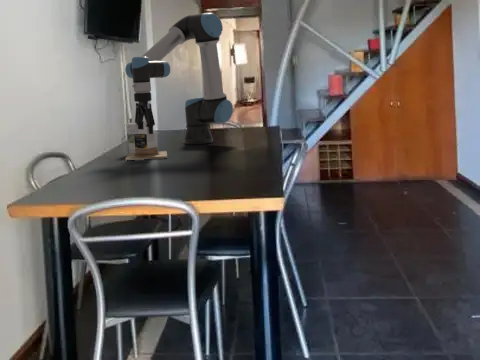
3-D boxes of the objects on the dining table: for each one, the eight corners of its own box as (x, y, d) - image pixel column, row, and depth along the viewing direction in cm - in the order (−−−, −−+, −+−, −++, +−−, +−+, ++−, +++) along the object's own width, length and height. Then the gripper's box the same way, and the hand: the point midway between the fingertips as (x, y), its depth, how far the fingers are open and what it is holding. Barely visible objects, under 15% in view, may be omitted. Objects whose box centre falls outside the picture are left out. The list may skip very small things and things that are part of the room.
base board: (127, 155, 285) (127, 146, 284) (166, 153, 287) (166, 144, 286) (125, 161, 267) (124, 151, 266) (167, 158, 269) (166, 149, 268)
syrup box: (145, 152, 291) (143, 122, 288) (137, 154, 286) (135, 123, 283) (135, 152, 294) (133, 122, 291) (128, 154, 289) (125, 123, 286)
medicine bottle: (134, 148, 275) (132, 122, 273) (145, 146, 281) (143, 120, 279) (147, 149, 271) (145, 122, 269) (157, 147, 277) (155, 120, 275)
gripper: (125, 92, 281) (129, 138, 285) (143, 93, 259) (146, 143, 263) (141, 91, 284) (144, 137, 288) (160, 92, 262) (163, 141, 266)
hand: (145, 140), depth 276 cm, fingers open, 13 cm apart
